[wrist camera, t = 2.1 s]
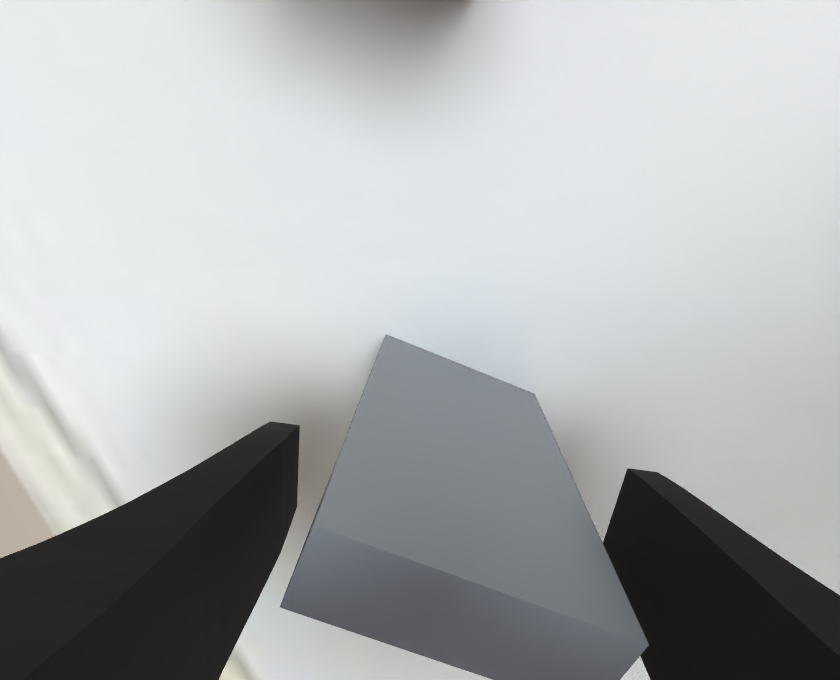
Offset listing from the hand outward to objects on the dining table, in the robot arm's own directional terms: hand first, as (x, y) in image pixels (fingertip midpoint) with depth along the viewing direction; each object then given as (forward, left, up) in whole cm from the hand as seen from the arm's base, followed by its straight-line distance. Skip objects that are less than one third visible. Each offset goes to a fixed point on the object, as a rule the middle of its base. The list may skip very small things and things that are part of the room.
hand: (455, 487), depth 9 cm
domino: (0, 0, -5) cm, 5 cm away
